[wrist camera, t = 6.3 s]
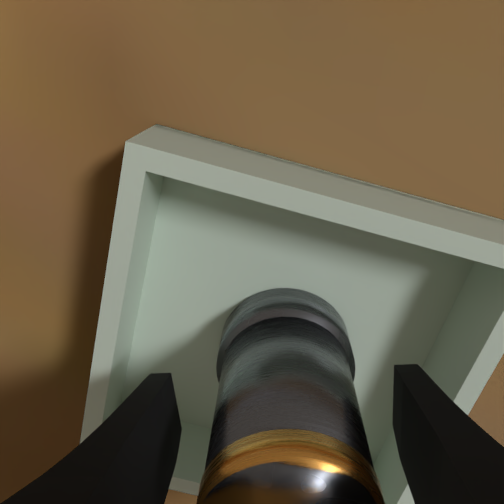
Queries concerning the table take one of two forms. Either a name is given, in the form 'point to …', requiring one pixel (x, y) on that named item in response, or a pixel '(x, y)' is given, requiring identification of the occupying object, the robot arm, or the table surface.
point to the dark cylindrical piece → (287, 408)
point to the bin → (288, 283)
